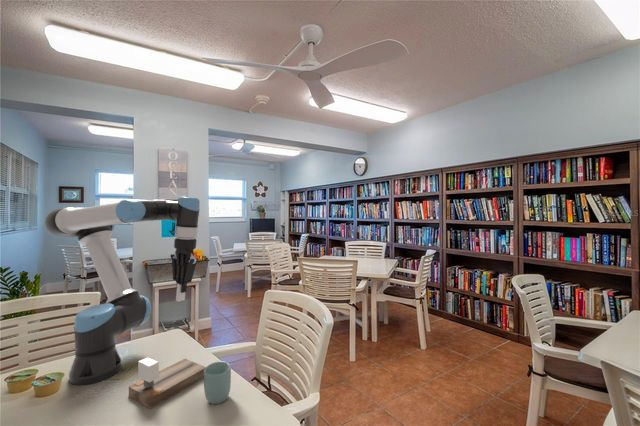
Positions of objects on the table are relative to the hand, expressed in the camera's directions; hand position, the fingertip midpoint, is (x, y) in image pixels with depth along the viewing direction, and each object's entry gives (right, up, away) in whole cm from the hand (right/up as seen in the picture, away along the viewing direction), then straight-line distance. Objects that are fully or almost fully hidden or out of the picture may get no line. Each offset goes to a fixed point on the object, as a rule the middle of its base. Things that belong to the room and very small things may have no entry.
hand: (180, 300), depth 112 cm
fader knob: (-2, -22, -18) cm, 28 cm away
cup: (+21, -25, -19) cm, 38 cm away
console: (+2, -25, -12) cm, 28 cm away
